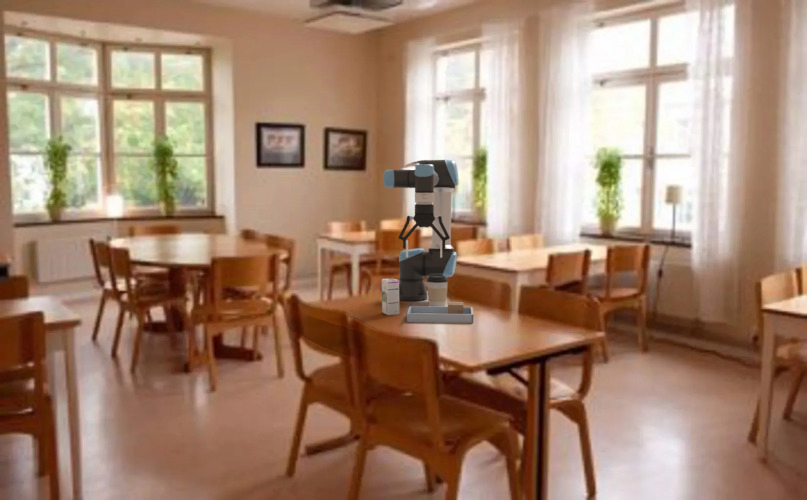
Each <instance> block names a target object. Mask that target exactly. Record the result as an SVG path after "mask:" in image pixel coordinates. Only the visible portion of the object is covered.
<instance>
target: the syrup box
mask: <svg viewBox="0 0 807 500" xmlns="http://www.w3.org/2000/svg"><path fill="white" fill-rule="evenodd" d="M381 313H382V314H384V315H386V316H396V315H400V300H399V279H396V278H390V277H389V278H383V279H381Z"/></svg>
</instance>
